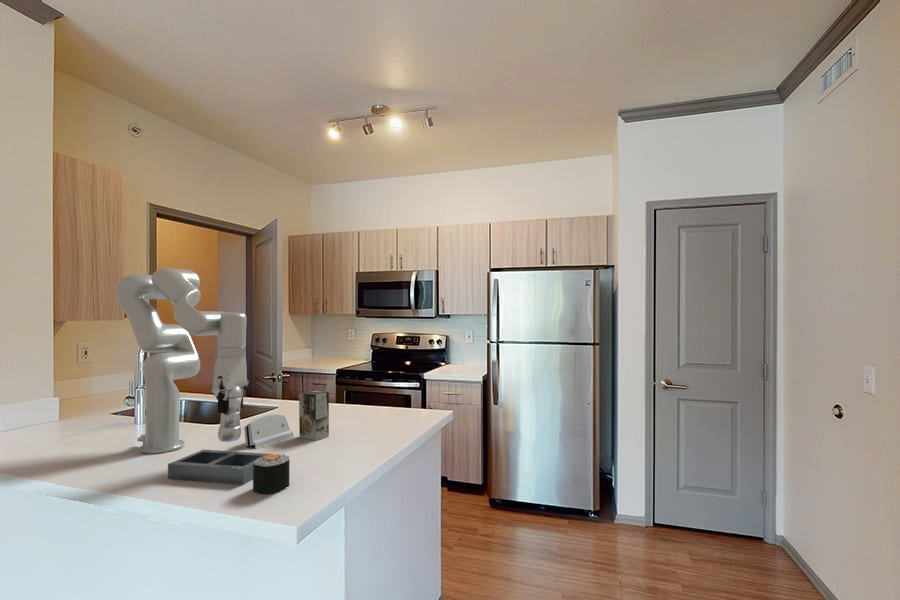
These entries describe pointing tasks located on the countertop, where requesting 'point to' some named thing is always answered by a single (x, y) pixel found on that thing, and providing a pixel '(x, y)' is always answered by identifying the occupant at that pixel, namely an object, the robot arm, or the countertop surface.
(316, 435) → the coffee box
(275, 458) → the sushi
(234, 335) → the robot arm
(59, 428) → the countertop surface
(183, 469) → the tray
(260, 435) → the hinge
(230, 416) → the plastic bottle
